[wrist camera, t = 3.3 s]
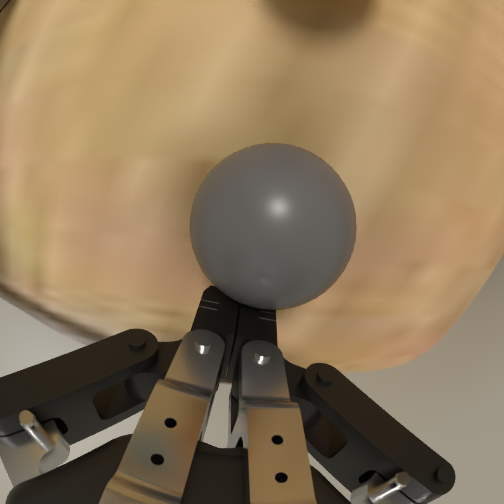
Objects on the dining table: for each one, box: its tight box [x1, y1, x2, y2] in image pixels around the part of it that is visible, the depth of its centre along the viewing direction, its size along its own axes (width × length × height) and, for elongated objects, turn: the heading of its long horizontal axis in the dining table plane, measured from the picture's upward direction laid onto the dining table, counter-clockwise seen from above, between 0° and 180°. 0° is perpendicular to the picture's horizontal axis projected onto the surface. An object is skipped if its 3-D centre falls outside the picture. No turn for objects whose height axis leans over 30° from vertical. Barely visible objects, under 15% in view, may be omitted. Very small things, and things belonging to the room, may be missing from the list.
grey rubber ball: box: [190, 143, 356, 310], centre depth 9 cm, size 6×6×6 cm
